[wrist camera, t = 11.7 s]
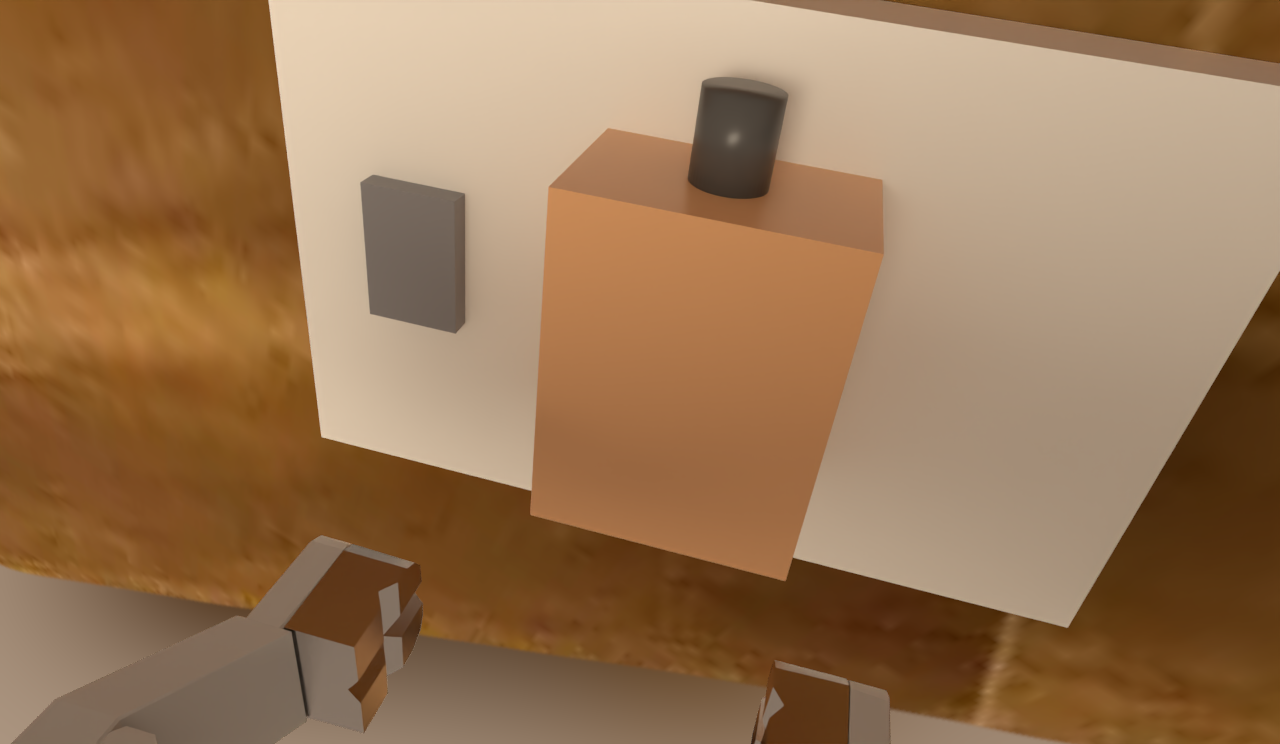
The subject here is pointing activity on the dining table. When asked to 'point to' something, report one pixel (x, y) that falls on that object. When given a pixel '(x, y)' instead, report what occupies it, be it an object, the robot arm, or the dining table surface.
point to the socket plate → (907, 279)
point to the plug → (699, 332)
